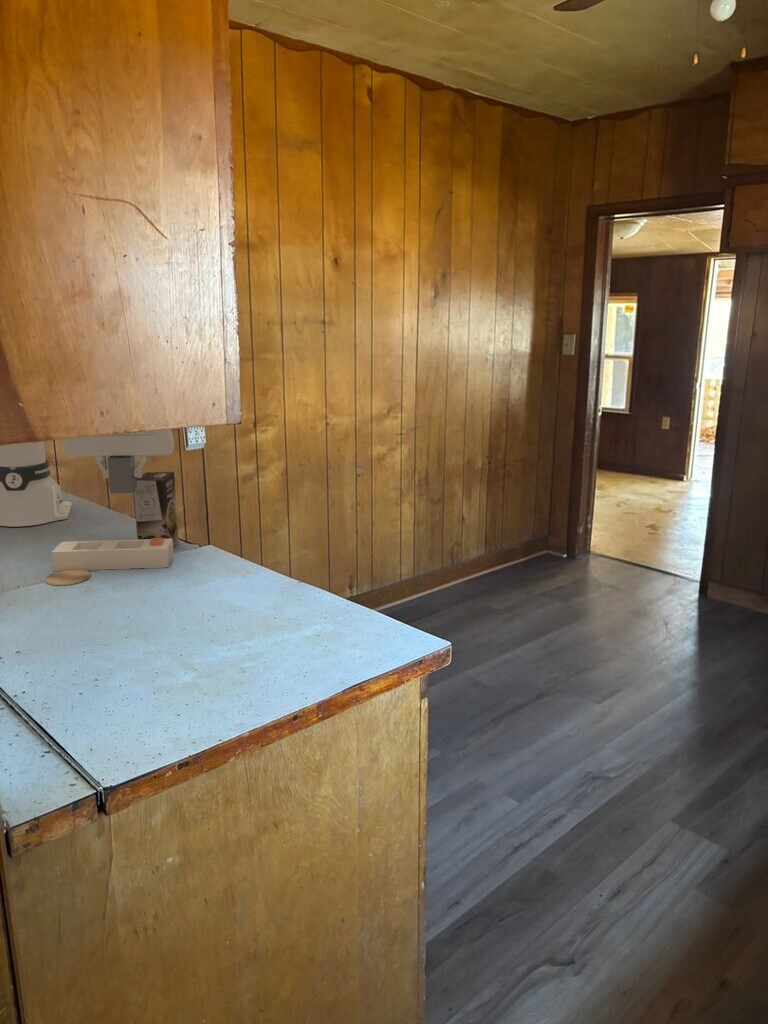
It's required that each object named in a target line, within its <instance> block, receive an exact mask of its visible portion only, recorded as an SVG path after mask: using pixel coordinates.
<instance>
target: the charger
mask: <svg viewBox="0 0 768 1024" xmlns="http://www.w3.org/2000/svg"><path fill="white" fill-rule="evenodd" d="M135 457H136V456H107V467H108V471H109V478H108V479H109V481H108V482H109V493H110V494H134V491H135V490H136V489H137V483H136V478H133V473H132V470H133V469H134V468H136V459H135Z"/></svg>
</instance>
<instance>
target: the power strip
mask: <svg viewBox="0 0 768 1024" xmlns="http://www.w3.org/2000/svg"><path fill="white" fill-rule="evenodd" d="M174 554H175V553H174V548H173V539H164V538H152V539H139V540H137V539H113V540H112V539H108V540H106V539H105V540H77V541H76V540H75V541H73V540H72V541H71V540H70V541H61V542H60V543H59V544H58V545H57V546H56V547H55V548H54V549H53V550H52V551H51V560H52V570H53V572H54V573H56V572H60V571H65V570H85V571H108V570H107V569H115V570H131V569H130V568H145V569H167V567H169V568H170V566H169V565H171V564H170V563H172V562H173V560H172V559H174V558H175V556H174ZM173 557H174V558H173ZM171 561H172V562H171ZM165 567H166V568H165ZM105 569H106V570H105Z"/></svg>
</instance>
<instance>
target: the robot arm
mask: <svg viewBox="0 0 768 1024" xmlns="http://www.w3.org/2000/svg"><path fill="white" fill-rule="evenodd" d="M174 441H175V440H174V434H173V429H164V430H152V431H143V432H137V433H123V434H113V435H103V436H91V437H81V438H71V439H64V438H63V449H64V451H65V453H66V454H67V455H68V456H69V457H94V458H95V462H96V464H97V465H98V467H99V468H100V470H102V478H103V479H109V471H108V465H107V464H106V463H105V460H106V457H110V456H135V457H136V458H137V462H139V464H138V466H137V467H135V468H134V469H133V470H132V473H133V478H141V477H142V475H143V467H144V465H145V463H146V462H147V460H148V459H147V456H148V457H150V456H151V457H152V456H153V457H154V456H159V457H160V456H164V457H165V456H169V455H171V454H172V453H173V452H174V450H175V442H174ZM51 465H52V462H51V460H50V458H47V459H46V451H45V443H44V442H38V443H27V444H18V445H6V446H0V527H2V526H3V527H13V528H14V527H15V528H16V527H28V526H29V527H30V526H38V525H43V524H48V523H50V522H56V521H62V520H68V519H69V515H70V513H71V511H72V510H71V509H72V507H73V505H72V504H73V503H72V502H71V501H67V500H63V499H62V491H61V485H60V484H59V483H58V482H57V481H55V479H54V478H52V476H51V470H50V469H51V468H50V467H51Z"/></svg>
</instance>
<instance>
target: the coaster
mask: <svg viewBox="0 0 768 1024" xmlns="http://www.w3.org/2000/svg"><path fill="white" fill-rule="evenodd" d="M89 577H90V578H91V573H90V572H89V570H65V571H55V572H54V573H50V574H49V575H47V576H46V577H45V578H44V579H45V580H44V581H45V583H46V584H47V583H48V584H47V585H49V584H50V586H54V585H61V586H60V587H63V585H66V586H71V584H74V585H77V584H76V583H78V584H81V583H83V582H82V581H84V580H86V581H88V580H89V579H90V578H89ZM88 578H89V579H88ZM87 579H88V580H87ZM80 582H81V583H80ZM84 582H85V581H84Z"/></svg>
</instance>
